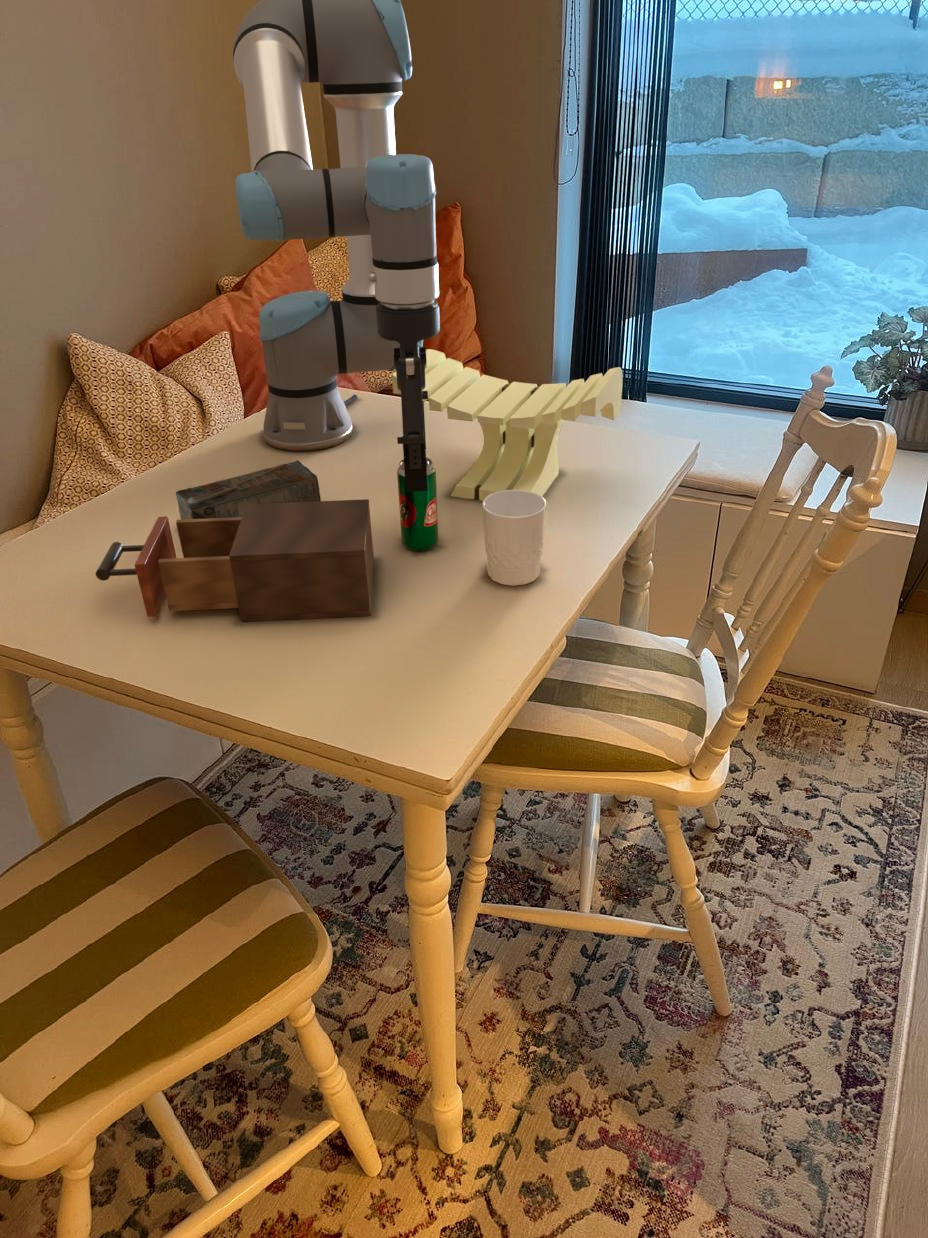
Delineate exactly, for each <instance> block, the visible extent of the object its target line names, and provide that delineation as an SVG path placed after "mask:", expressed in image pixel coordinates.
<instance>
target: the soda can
mask: <svg viewBox="0 0 928 1238" xmlns="http://www.w3.org/2000/svg"><path fill="white" fill-rule="evenodd" d="M398 465H399V466H398V468H397V469H396V479H397V492H398V506H399V507H398V509H399V522H400V523H399V525H400V538H401V544H402V545H403V546H404V547H405V548H406V549H408V550H409V551H413V552H425V551H428V550H431V549H433V548H435V547H436V545H438V543H439V518H438V516H439V515H438V495H437V494H438V492H437V491H438V490H437V470H436V467H435V466H434V464H433V460H432V459H431V458H428V457H426V467H427V487H428V491H415V492H406V486H405V470H404V458H403V459H402V460H400V462H399V464H398Z"/></svg>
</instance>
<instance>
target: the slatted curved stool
mask: <svg viewBox="0 0 928 1238" xmlns="http://www.w3.org/2000/svg"><path fill="white" fill-rule="evenodd" d="M426 362H427V367H426V369H425V385H426V386H425V388H424V389H423V390H422V391H428V399H423V400H422V401H424V403H425V402H427V401H428V410H429V411H434V412H443V411H444V410H447V411H446V413H447V414H446V415H447V419H448V420H455V421H464V422H473V421H474V420H475V419H477V422H478V423H479V425H480V427H481V430H482V435H483V446H482V450H481V452H480V454H479V456H478V458H477V459H476V461H475V463H474V464H473V465H472V467H470V469H469V470H468V472H466V474H465V475H464V476H463V477H462V478H461V480H460V481H459V482H457V484H456V485H455V487H454V489H453V491H452V493H451V495H450V497H454V498H460V499H467V500H474V499H476V498H477V499H478V500H479V501H481V502H483V500H484V499H485V498H486V497H487V496H489V495H490V494H493V493H495V492H499V491H504V490H525V491H530V492H534V493H536V494H538V495H540V496H542V497H543V496H544V495H545V494H546V492H547V491H548V489H549V488H550V487H551V485H552V484H553V482H554V481H555V480H556V479H557V478H558V476H559V472H560V468H559V466H560V465H559V458H558V455H559V454H558V443H559V436H560V432H561V429H562V427H563V424H564V421H571V422H575V421H576V420H577V419H578V418H579V417H580V415H581V416H586V417H596V416H597V415H598V414H599V413H600V416H601V417H603V418H606V419H609V420H611V421H614V420H616V418H617V417H618V415H619V413H620V412H621V411H622V397H623V384H624V383H623V382H624V381H623V379H624V377H623V370H622V367H617V366H616V367H612V368H609V369H607V371H606V372H605V374H604V375H603V373H602V372H599V373H596V374H592V375H590V376H589V377H588V378H587V380H585V379H584V378H579V379H573V380H571V381H570V383H569V384H568V385H567V384H566V382H559V383H558V382H557V383H542V384H541V385H540V386H538V384H537V383H529V382H520V381H512V382H511V383H509V381H508V379H503V378H499V377H495V376H491V375H487V374H482V375H481V374H480V370H478V369H474V368H471V367H468V366H465V367H464V365H463V362H461V361H459V360H456V359H453V358H450V357H446V354H445V352H442V351H439V350H436V349H431V348H427V349H426ZM391 378H392V381H391V382H392V394H395V395H396V394H397V395H401V391H400V390H399V389H398V387H397V373H396V371H395V372H393V373H392V374H391Z"/></svg>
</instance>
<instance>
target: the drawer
mask: <svg viewBox="0 0 928 1238" xmlns="http://www.w3.org/2000/svg"><path fill="white" fill-rule="evenodd" d="M241 519H242V517H230V518H206V519H183V520H181V519H177V520H176V522H175V524H176V528H177V534H178V538H179V542H180V548H181V552H182V557H177V552H176V548H175V544H174V538H173V534H172V530H171V525H170V521H169V516H167V515H166V516H164V515H163V516H157V519H156V520H155V523H154V524H153V526H152V529H151V530H150V532H149V534H148V537H147V538H146V540H145V543H144V544H136V545H134V544H133V545H124V544H123V543H121V542H119V541H114V542H112V543H111V544H110V547H108V550H107V552H106V553H105V555H104V557H103V559H102V561H101V562H100V564H99V566H98V567H97V570H96V572H95V576H96V577H95V578H97V579H98V580H99V581H102V582H103V581H107V580H109V579H110V577H118V576H119V577H120V576H136V577H137V581H138V585H139V589H140V593H141V597H142V601H143V605H144V609H145V614H146V617H147V618H157V617H158V615H159V613H160V610H161V608H162V606H163V604H164V602H165V600H166V603H167V609H168V611H169V612H179V611H180V612H181V611H198V610H199V611H201V610H221V609H222V610H223V609H239V608H238V602H237V597H236V591H235V586H234V580H233V575H232V569H231V564H230V558H229V555H230V552H231V549H232V546H233V543H234V540H235V537H236V534H237V531H238V528H239V525H240V522H241ZM132 552H140V553H139V554H138V556H137V558H136V560H135V562H134V564H133V565H134V568H116V566H117V564H118V562H119V560H120V558H121V557H122V555H123V553H132Z"/></svg>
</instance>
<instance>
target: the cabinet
mask: <svg viewBox="0 0 928 1238" xmlns="http://www.w3.org/2000/svg"><path fill="white" fill-rule="evenodd" d="M370 510H371V509H370V499H368V498H366V499H363V498H362V499H346V500H345V499H344V500H343V499H341V500H321V501H316V502H293V503H269V504H247V505H246V507H245V510H244V513H243V516H242V519H241V522H240V525H239V528H238V531H237V534H236V537H235V540H234V543H233V546H232V549H231V552H230V555H229V558H230V564H231V569H232V575H233V580H234V586H235V591H236V597H237V602H238V608H237V609H238V612H239V616H240V617H239V618H240V622H242V623H244V622H245V623H247V622H265V621H266V622H268V621H289V620H306V619H307V620H313V619H330V618H331V619H333V618H355V617H371V615H372V602H373V601H372V599H373V584H374V569H375V567H374V566H375V555H374V554H375V553H374V545H373V544H374V543H373V533H372V522H371V521H372V520H371V519H372V518H371V511H370Z"/></svg>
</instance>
